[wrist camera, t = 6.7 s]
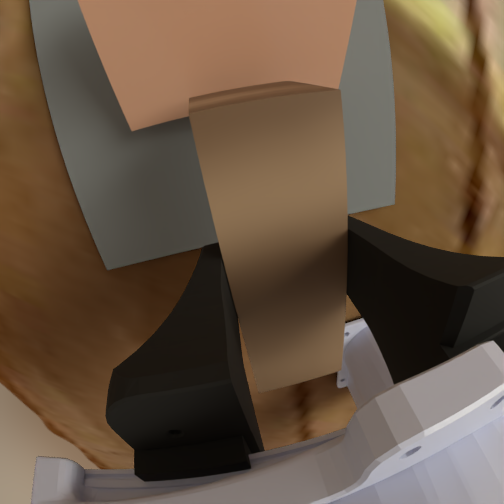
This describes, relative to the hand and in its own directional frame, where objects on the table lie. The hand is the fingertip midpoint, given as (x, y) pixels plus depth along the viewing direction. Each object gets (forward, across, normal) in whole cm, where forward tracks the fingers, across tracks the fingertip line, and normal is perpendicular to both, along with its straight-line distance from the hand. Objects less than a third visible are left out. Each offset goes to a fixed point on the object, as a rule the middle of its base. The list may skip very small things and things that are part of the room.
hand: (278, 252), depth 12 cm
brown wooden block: (+3, 0, 0) cm, 3 cm away
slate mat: (+7, 0, -7) cm, 10 cm away
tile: (+6, 0, -5) cm, 8 cm away
